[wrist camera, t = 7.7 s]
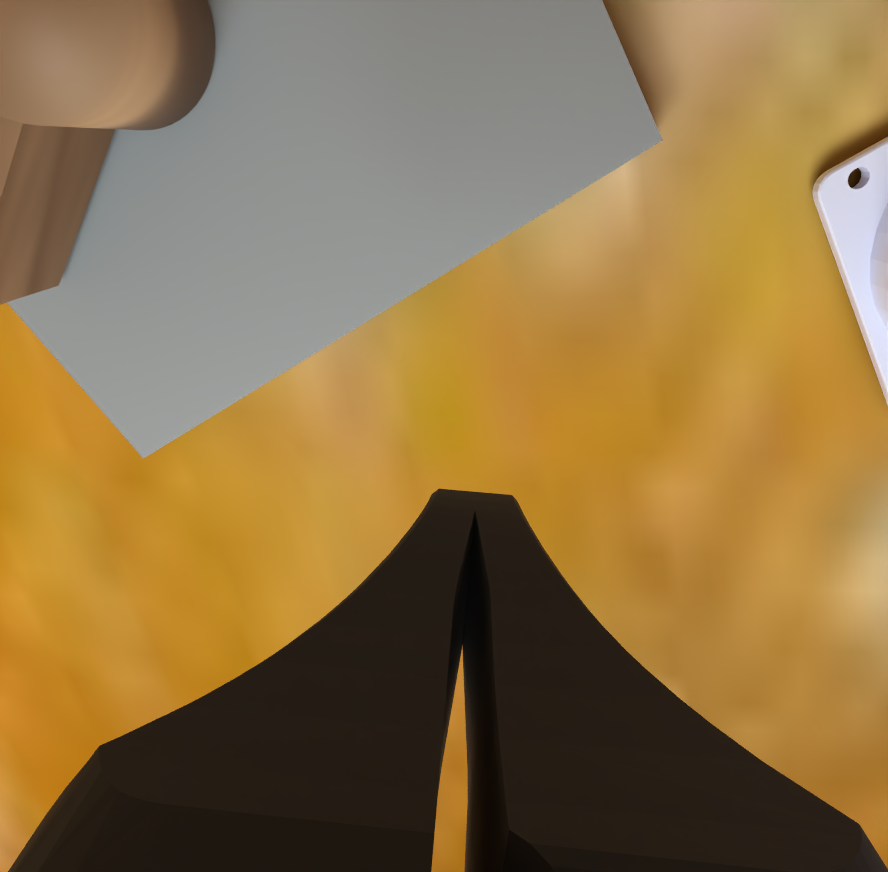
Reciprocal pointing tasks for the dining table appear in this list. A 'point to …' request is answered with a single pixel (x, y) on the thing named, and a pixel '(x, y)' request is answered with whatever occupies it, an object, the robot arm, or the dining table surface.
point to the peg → (82, 111)
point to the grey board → (325, 188)
